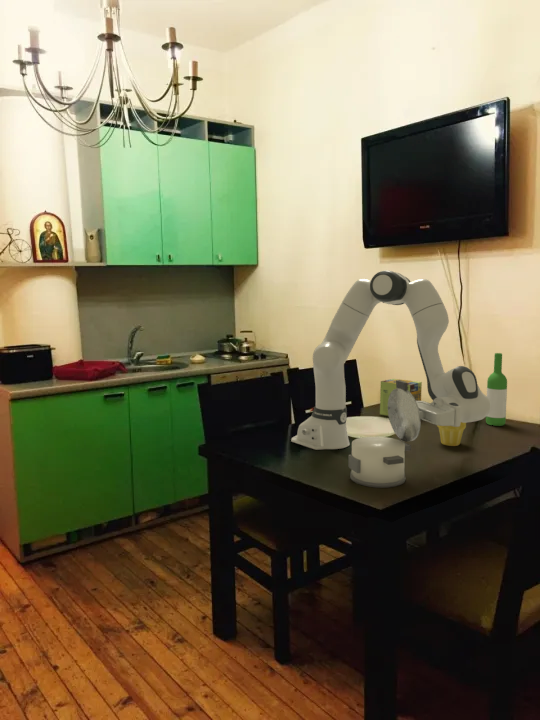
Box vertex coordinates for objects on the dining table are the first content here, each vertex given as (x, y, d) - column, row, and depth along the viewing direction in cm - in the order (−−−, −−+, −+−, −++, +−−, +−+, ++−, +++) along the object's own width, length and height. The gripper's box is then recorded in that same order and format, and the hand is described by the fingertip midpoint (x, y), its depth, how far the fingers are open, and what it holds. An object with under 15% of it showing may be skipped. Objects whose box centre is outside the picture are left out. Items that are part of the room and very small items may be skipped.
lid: (389, 434, 187) (393, 433, 188) (417, 447, 172) (421, 446, 172) (385, 377, 184) (389, 376, 185) (414, 386, 169) (418, 385, 169)
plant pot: (467, 448, 209) (468, 421, 207) (437, 446, 211) (438, 420, 209) (463, 440, 219) (464, 415, 217) (435, 439, 221) (435, 414, 219)
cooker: (387, 464, 191) (388, 432, 190) (424, 485, 171) (424, 449, 170) (337, 470, 186) (337, 437, 184) (369, 493, 166) (369, 456, 164)
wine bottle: (495, 427, 237) (498, 355, 233) (481, 423, 244) (484, 353, 240) (509, 425, 240) (512, 353, 236) (495, 421, 247) (498, 351, 243)
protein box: (409, 420, 252) (410, 385, 249) (379, 414, 262) (379, 381, 260) (421, 415, 259) (422, 381, 257) (391, 410, 270) (392, 378, 267)
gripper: (424, 395, 193) (388, 398, 188) (464, 407, 173) (424, 411, 169) (424, 413, 193) (388, 416, 189) (463, 427, 174) (424, 432, 170)
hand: (405, 414), depth 179 cm, fingers closed, pressing on lid
